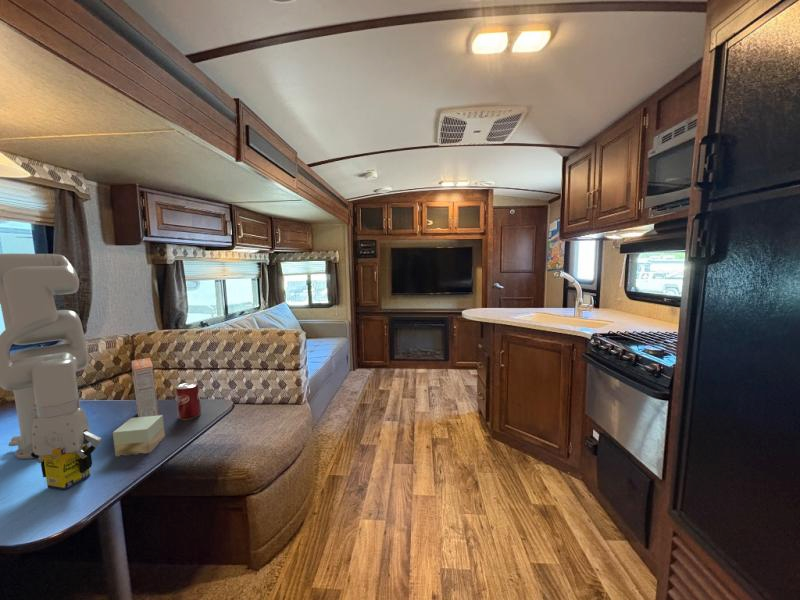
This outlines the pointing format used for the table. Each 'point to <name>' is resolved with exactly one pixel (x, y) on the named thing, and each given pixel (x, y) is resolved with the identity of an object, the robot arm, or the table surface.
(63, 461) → the supplement box
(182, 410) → the soda can
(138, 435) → the tower top block
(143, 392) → the cracker box
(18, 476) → the table surface
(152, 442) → the tower base block
